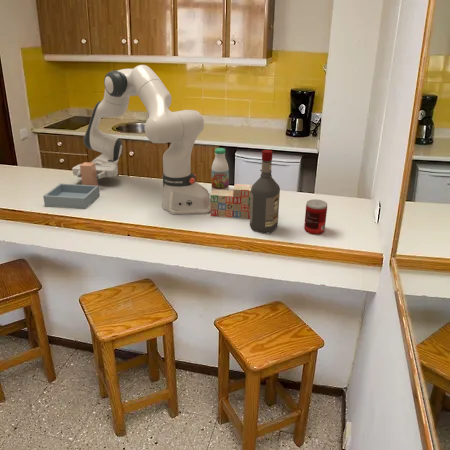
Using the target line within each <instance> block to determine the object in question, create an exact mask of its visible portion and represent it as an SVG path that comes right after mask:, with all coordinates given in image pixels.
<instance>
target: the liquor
mask: <svg viewBox="0 0 450 450" xmlns="http://www.w3.org/2000/svg"><path fill="white" fill-rule="evenodd" d="M272 161H273V150H271V149H264V150H262V151H261V172H260V173H261V174H260V177H259V178H258V179H257V180H256V181H255V182H254V183H253V184H251V185H252V188H251V207H250V219H249V227H250V228H251V230H252V231H253V230H254V231H253V232H257V231H258V232H257V233H261V232H262V233H261V234H264V233H265V234H271V233H272V232H273V231H275V230H276V229H277V227H278V225H279V210H280V197H281V196H280V195H281V194H280V191H281V188H280V185H279V184H278V182H276V180H275V179H274V178H273V175H272V165H273V163H272ZM274 229H275V230H274Z"/></svg>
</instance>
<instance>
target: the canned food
mask: <svg viewBox="0 0 450 450" xmlns="http://www.w3.org/2000/svg"><path fill="white" fill-rule="evenodd" d="M327 211H328V203H327V202H326V201H325V200H321V199H317V198H316V199H314V198H312V199H309V200H307V201H306V205H305V214H304V225H303V226H304V227H303V228H304V231H305V232H306V233H308V234H310V235H321V234H323V233H324V231H326V229H325V228H326V221H327V213H328V212H327Z"/></svg>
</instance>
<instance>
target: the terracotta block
mask: <svg viewBox="0 0 450 450" xmlns="http://www.w3.org/2000/svg"><path fill="white" fill-rule="evenodd" d="M91 162H92V161H90V162H88V161H87V162H86V161H84V162H82V163H80V164H81V165H80V171H81V178H80V179H81V185H93V186H99V184H98V183H99V182H98V178H96V175H97V174H96V166H95V163H91Z"/></svg>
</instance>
